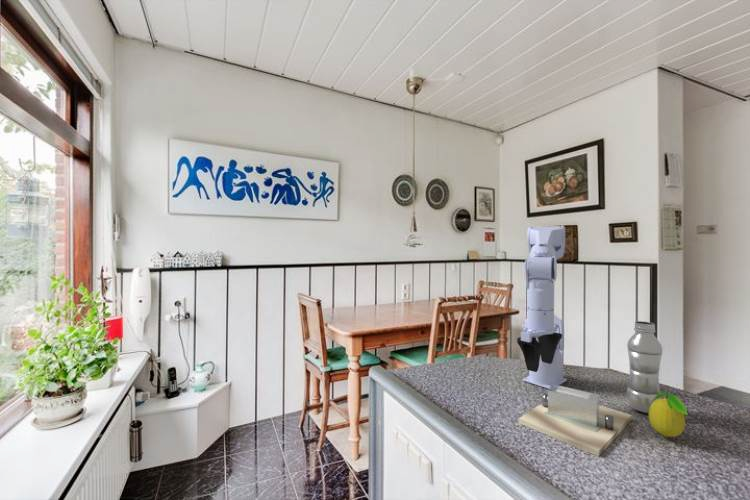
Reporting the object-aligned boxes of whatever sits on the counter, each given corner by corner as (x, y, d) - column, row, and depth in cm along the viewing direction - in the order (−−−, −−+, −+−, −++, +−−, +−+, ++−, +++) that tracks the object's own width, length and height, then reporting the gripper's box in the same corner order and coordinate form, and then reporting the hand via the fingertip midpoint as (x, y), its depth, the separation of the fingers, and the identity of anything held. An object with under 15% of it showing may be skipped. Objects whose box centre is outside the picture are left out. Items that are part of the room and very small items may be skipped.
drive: (552, 405, 79) (552, 383, 79) (599, 418, 73) (599, 394, 73) (547, 413, 76) (547, 389, 76) (596, 426, 70) (596, 401, 70)
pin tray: (558, 396, 86) (559, 382, 86) (631, 419, 75) (631, 403, 75) (518, 423, 74) (518, 406, 74) (598, 456, 62) (598, 437, 62)
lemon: (687, 451, 64) (688, 397, 63) (646, 439, 68) (647, 388, 67) (687, 436, 68) (688, 386, 68) (649, 425, 72) (650, 378, 72)
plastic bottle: (656, 406, 81) (657, 321, 80) (666, 420, 75) (667, 327, 74) (622, 401, 83) (624, 318, 83) (629, 414, 77) (631, 324, 77)
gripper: (537, 302, 88) (536, 355, 89) (508, 310, 79) (507, 369, 79) (566, 306, 83) (566, 362, 83) (539, 315, 74) (539, 378, 74)
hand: (539, 366), depth 81 cm, fingers open, 7 cm apart
